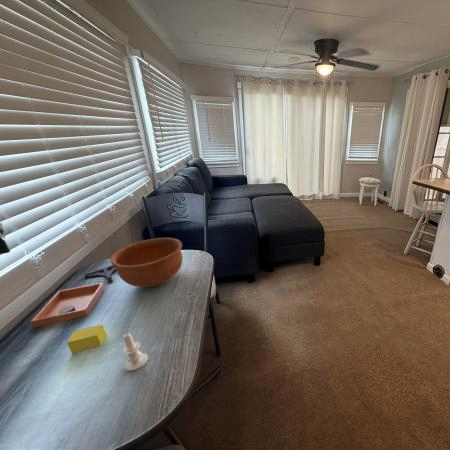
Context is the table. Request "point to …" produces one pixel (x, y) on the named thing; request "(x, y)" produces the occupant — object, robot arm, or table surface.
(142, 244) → the bowl
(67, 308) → the food scrap
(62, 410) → the table surface
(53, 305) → the pan
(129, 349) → the chess piece
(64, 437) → the table surface
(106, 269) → the bracket
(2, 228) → the robot arm
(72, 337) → the sponge
